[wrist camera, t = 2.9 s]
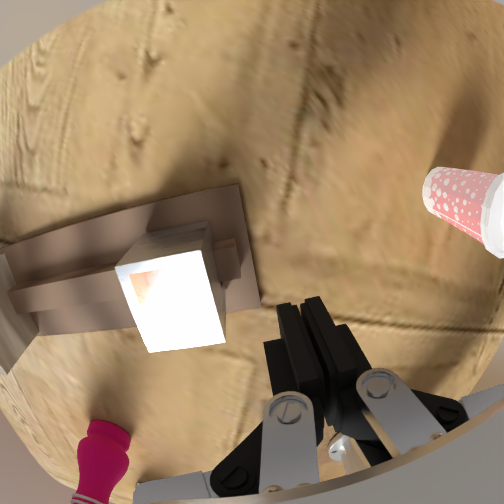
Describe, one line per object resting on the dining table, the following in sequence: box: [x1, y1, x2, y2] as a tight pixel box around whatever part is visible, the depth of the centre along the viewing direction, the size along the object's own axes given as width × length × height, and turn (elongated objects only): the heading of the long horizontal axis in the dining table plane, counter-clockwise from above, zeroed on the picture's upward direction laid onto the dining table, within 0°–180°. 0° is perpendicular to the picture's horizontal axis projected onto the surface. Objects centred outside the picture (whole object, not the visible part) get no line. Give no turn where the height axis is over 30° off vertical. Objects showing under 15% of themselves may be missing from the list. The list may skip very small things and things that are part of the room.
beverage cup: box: [422, 167, 504, 259], centre depth 15 cm, size 6×6×14 cm
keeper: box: [115, 220, 226, 352], centre depth 19 cm, size 5×6×6 cm
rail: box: [0, 184, 261, 375], centre depth 19 cm, size 26×10×8 cm, turn 100°
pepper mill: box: [70, 420, 131, 504], centre depth 21 cm, size 7×7×20 cm
